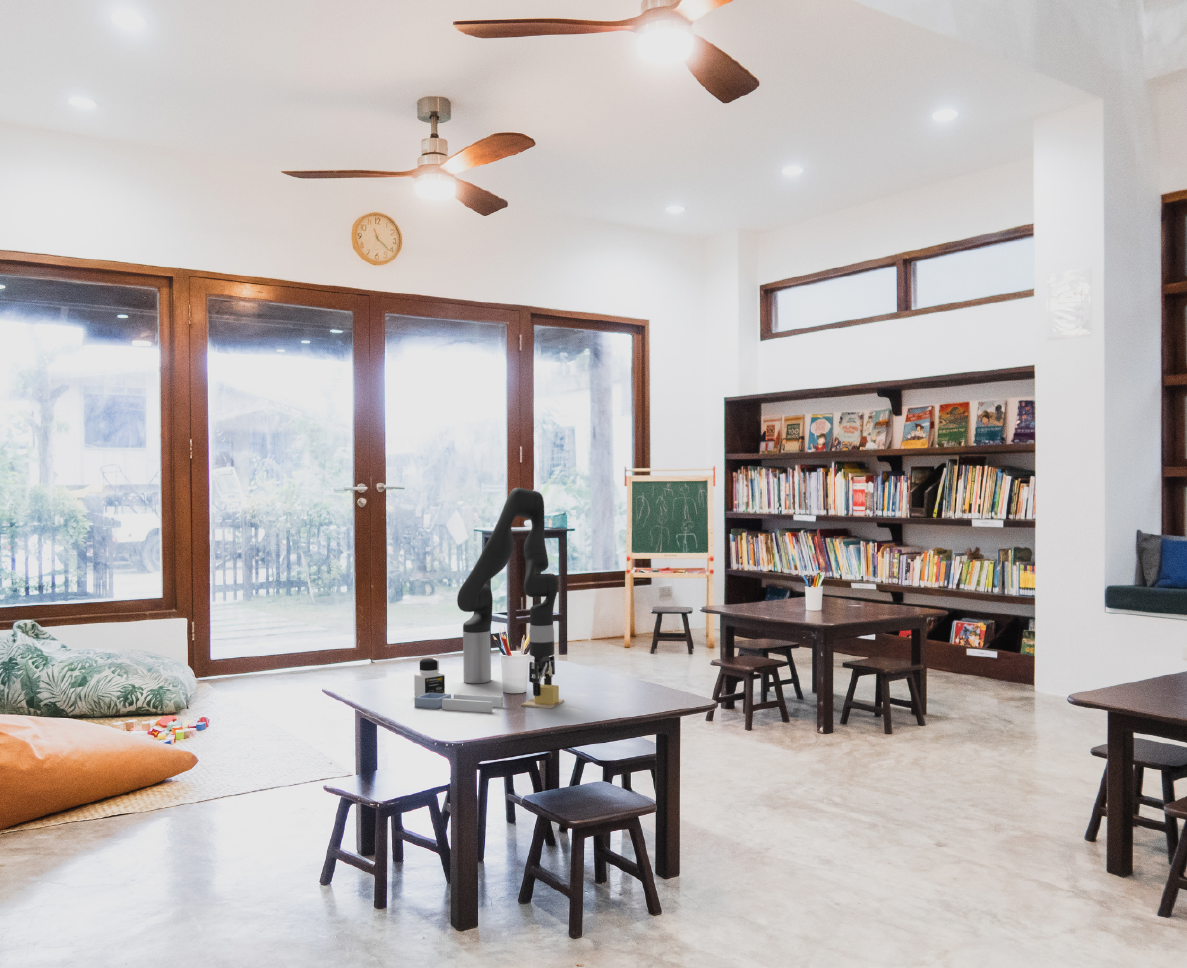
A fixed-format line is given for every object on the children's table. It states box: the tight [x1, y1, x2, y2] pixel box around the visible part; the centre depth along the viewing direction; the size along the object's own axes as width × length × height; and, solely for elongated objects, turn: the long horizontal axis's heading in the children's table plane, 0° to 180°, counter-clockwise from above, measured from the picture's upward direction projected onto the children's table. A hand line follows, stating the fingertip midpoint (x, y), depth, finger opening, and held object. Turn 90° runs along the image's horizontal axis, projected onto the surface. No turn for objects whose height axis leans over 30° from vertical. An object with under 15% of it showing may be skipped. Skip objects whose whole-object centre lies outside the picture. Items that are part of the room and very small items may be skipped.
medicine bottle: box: [413, 657, 446, 698], centre depth 297 cm, size 7×7×12 cm
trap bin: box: [414, 693, 452, 710], centre depth 284 cm, size 8×8×3 cm
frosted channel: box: [441, 693, 504, 714], centre depth 280 cm, size 16×8×3 cm, turn 70°
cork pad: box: [520, 697, 565, 709], centre depth 284 cm, size 10×10×1 cm
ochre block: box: [534, 683, 560, 704], centre depth 284 cm, size 4×6×5 cm
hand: (542, 693), depth 284 cm, fingers open, 8 cm apart
